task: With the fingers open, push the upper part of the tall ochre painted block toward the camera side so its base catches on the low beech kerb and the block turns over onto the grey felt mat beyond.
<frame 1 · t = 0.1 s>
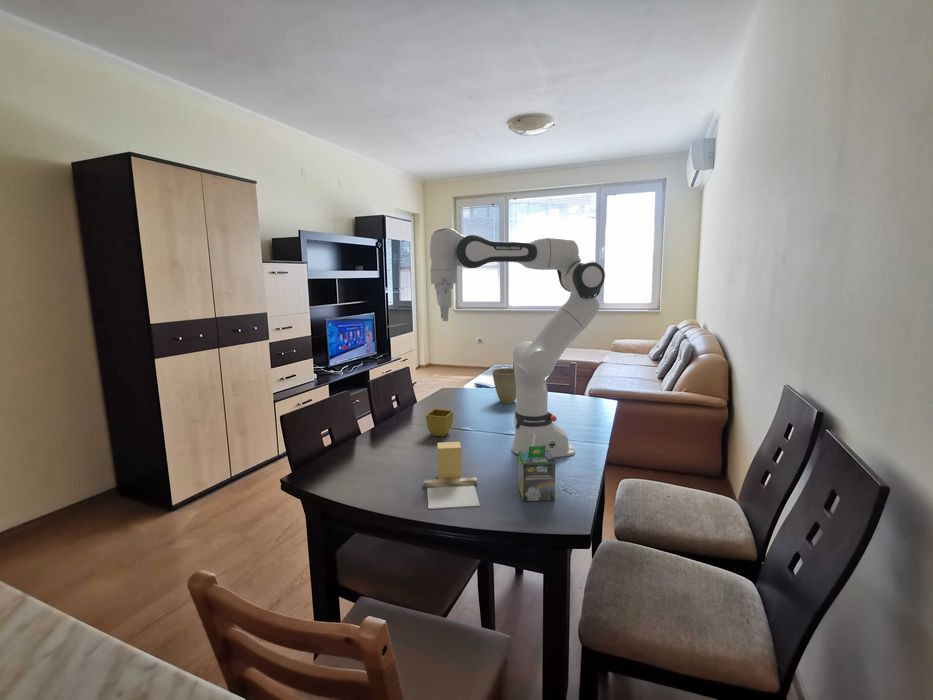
hand: (444, 319, 151), 48 cm above the table, fingers open, 8 cm apart
plant pot: (506, 402, 225), on the table
ochre block: (449, 478, 138), on the table
felt mat: (452, 497, 126), on the table
flower pot: (440, 434, 178), on the table
beech kerb: (450, 484, 134), on the table
chalk box: (535, 494, 128), on the table
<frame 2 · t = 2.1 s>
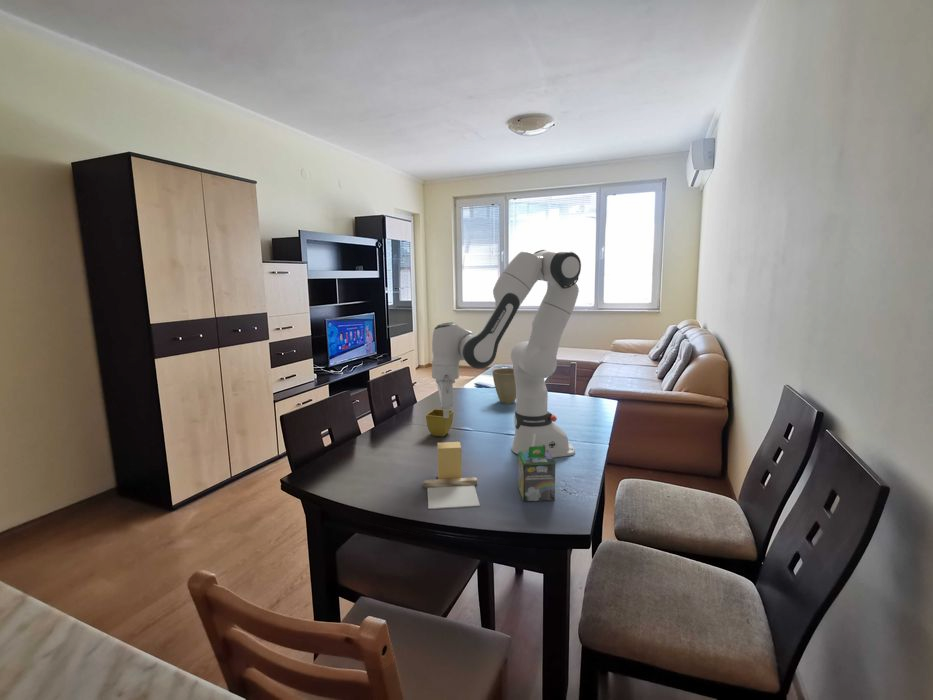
hand: (445, 413, 147), 17 cm above the table, fingers open, 8 cm apart
nothing on the table moved.
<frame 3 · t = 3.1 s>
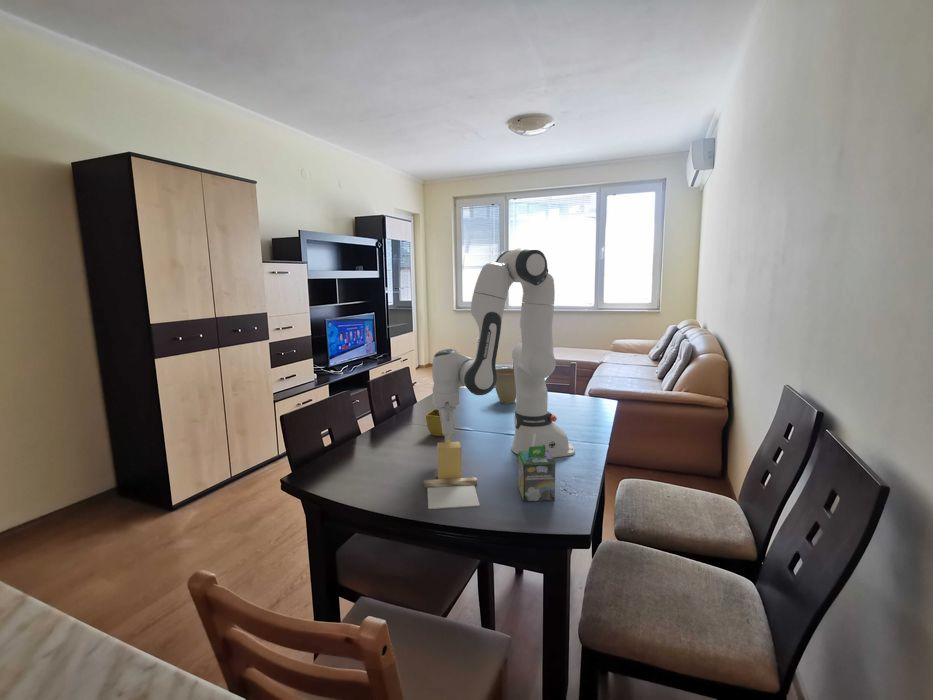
hand: (446, 438, 149), 9 cm above the table, fingers open, 8 cm apart
nothing on the table moved.
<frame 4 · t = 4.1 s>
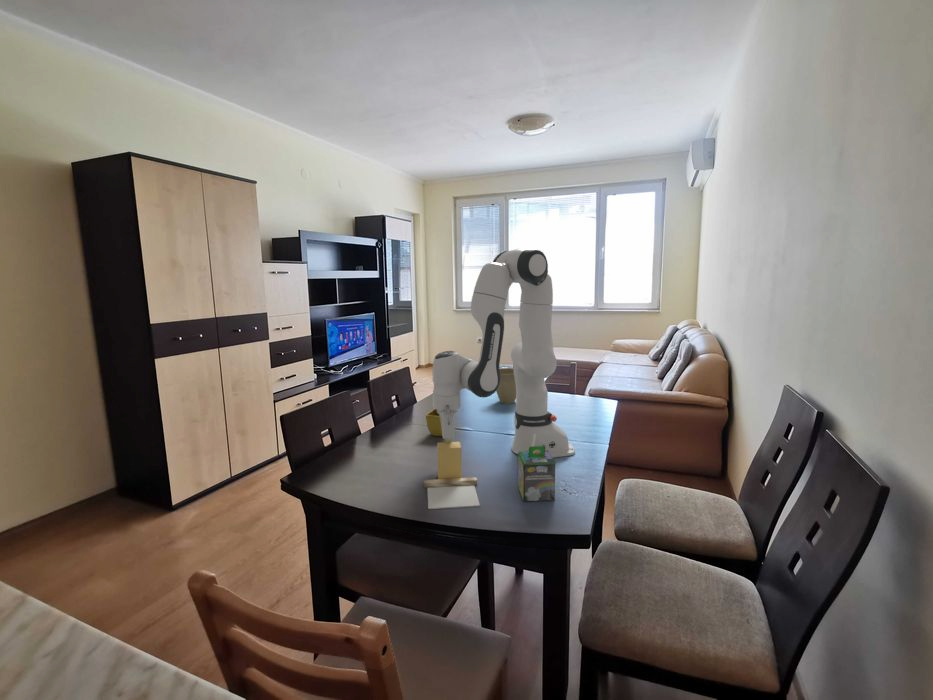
hand: (447, 443, 145), 9 cm above the table, fingers open, 7 cm apart
ochre block: (449, 478, 138), on the table, touching gripper
everything else where it was.
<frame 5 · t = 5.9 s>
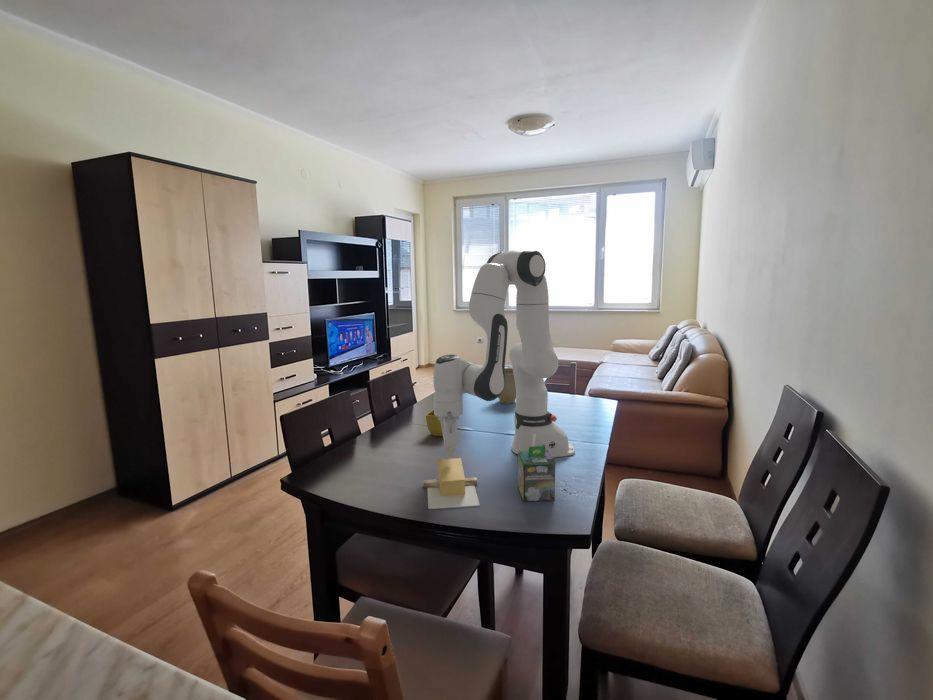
hand: (448, 451, 138), 9 cm above the table, fingers open, 8 cm apart
ochre block: (449, 465, 136), point 5 cm above the table, tilted 100°, touching beech kerb, felt mat
everything else where it was.
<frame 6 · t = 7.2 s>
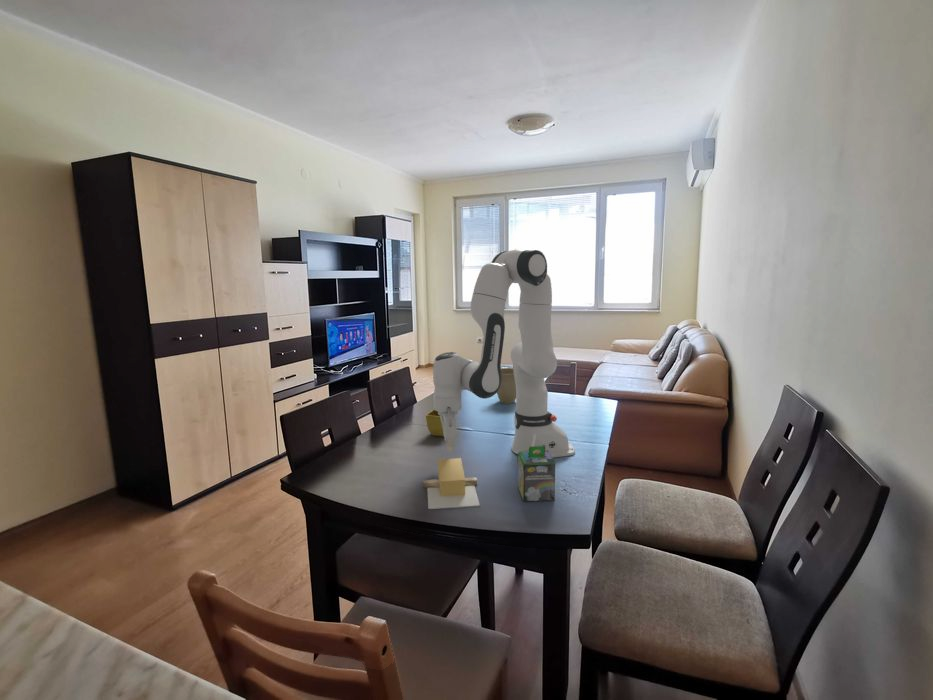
hand: (448, 444, 144), 8 cm above the table, fingers open, 8 cm apart
nothing on the table moved.
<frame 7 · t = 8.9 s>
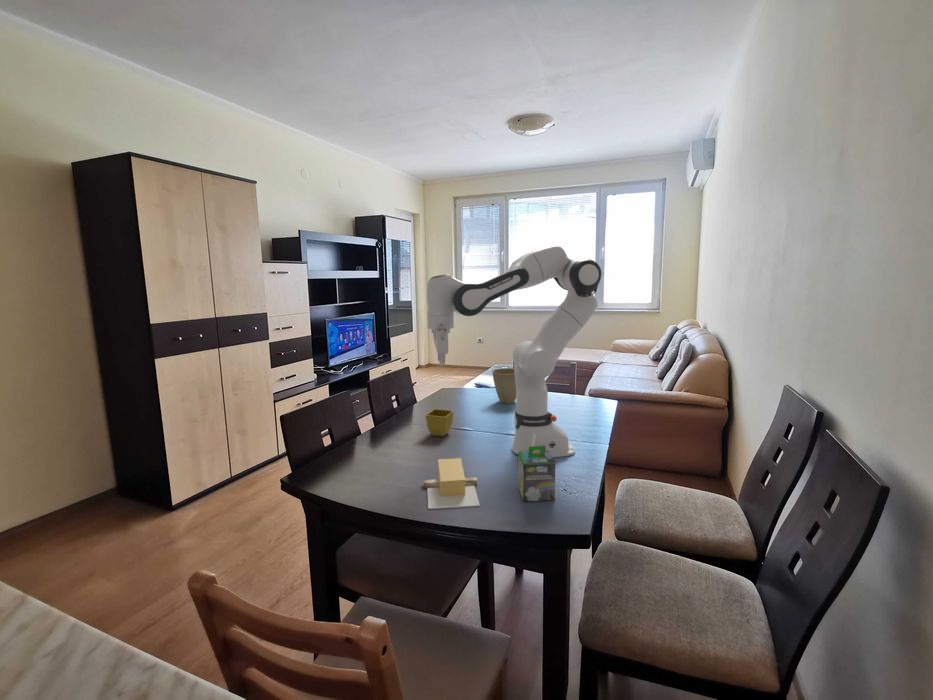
hand: (441, 363, 152), 33 cm above the table, fingers open, 8 cm apart
nothing on the table moved.
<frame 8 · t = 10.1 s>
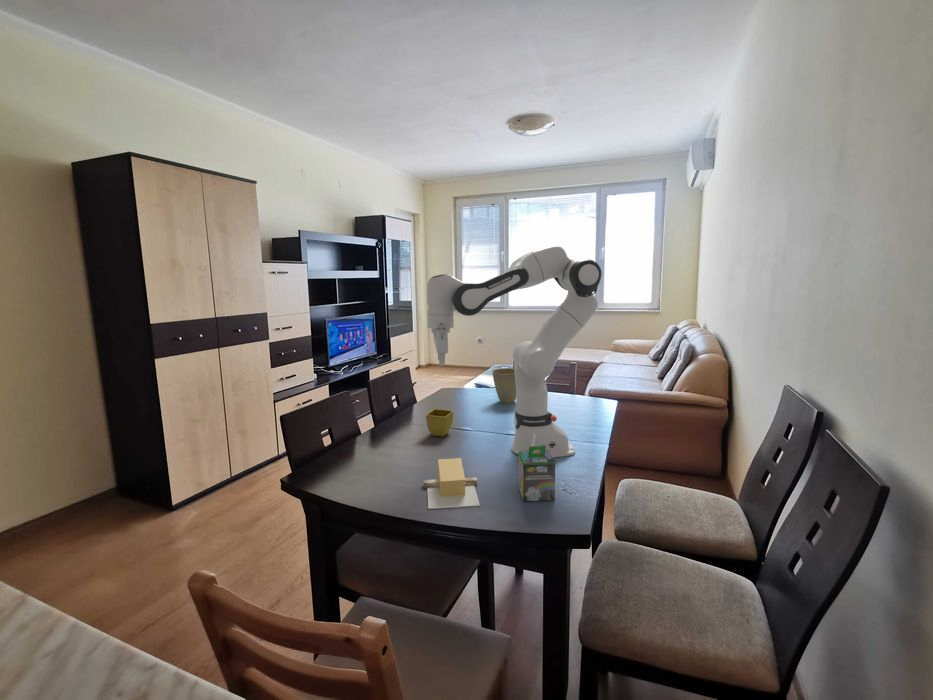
hand: (441, 362, 153), 33 cm above the table, fingers open, 8 cm apart
nothing on the table moved.
at the end: ochre block tilted 100°; ochre block inside the target area (11.3 cm from its centre), point 4.8 cm above the table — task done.
